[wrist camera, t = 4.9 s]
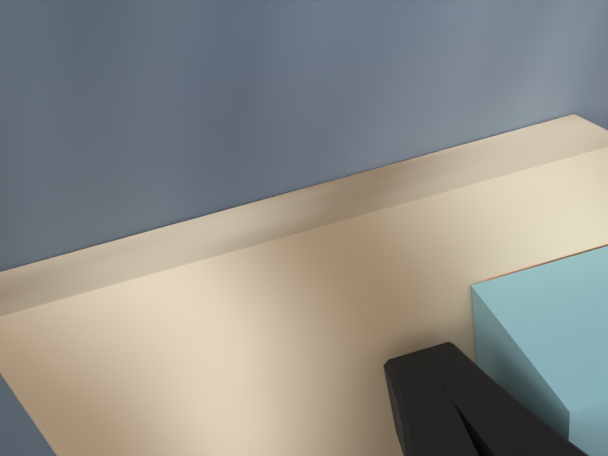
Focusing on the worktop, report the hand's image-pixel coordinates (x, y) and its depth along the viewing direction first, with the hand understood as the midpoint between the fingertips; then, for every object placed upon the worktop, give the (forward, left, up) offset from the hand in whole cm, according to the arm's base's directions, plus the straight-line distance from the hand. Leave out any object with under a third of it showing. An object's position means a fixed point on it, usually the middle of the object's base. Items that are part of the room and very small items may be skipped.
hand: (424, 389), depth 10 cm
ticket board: (-1, -3, -2) cm, 4 cm away
